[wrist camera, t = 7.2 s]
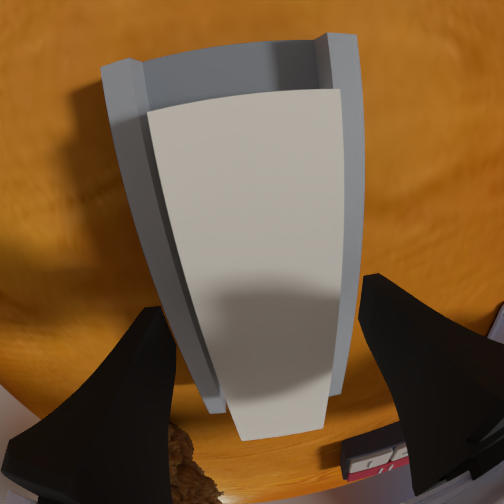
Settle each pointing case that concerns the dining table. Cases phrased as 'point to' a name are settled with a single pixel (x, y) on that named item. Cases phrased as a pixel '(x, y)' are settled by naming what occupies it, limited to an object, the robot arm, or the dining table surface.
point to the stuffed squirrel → (188, 472)
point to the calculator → (373, 452)
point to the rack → (217, 86)
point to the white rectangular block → (260, 244)
